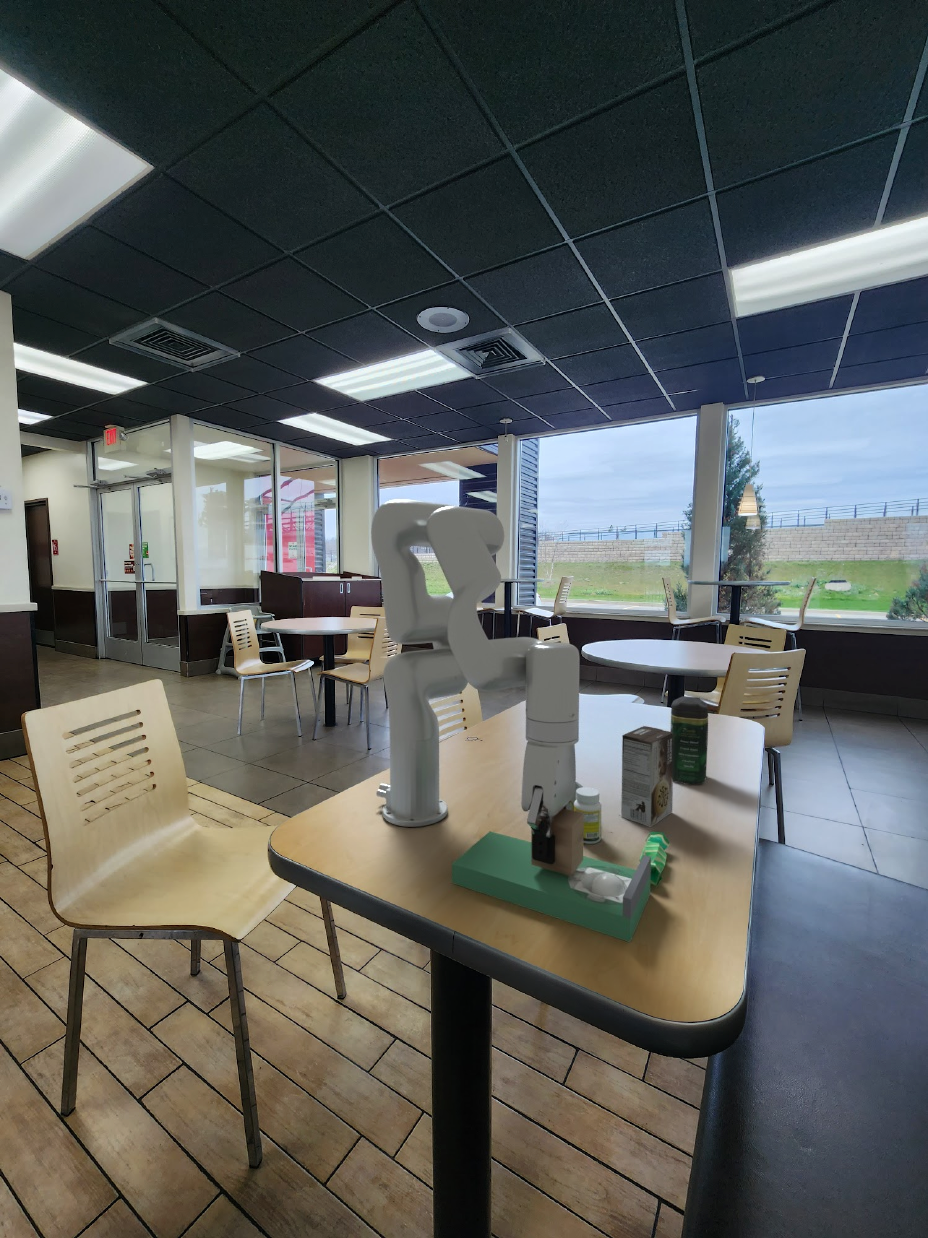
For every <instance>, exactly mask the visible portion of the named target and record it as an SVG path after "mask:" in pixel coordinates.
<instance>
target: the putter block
mask: <svg viewBox="0 0 928 1238" xmlns="http://www.w3.org/2000/svg"><path fill="white" fill-rule="evenodd" d="M541 811H545V812H548V809H547V808H543V807H542V810H541ZM540 819H541V821H543V822H545V824H546V825H547V820H548V818H546V817H541V816H540ZM583 827H584V813H580V812H576V811H571V810H567V809H562V810H561V811H559V812H558V813H557V814H556V815H555V816H554V824H553V834H552V835H554V836H555V862H554V863H553V864H552V865H551V864H547V863H544V862H540V861H537V860H534V859H533V858H532V833H531V832H530V833H531V839H530V840H531V841H530V842H531V865H534V866H538V867H541V868H545V869H548V870H552V871H555V872H559V873H562V874H566V875H569V876H572V875H573V874H574V872H575V871H576V869H577V868H578V867H579V865H580V864H581V862H582V861H583V856H584V843H583Z"/></svg>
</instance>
